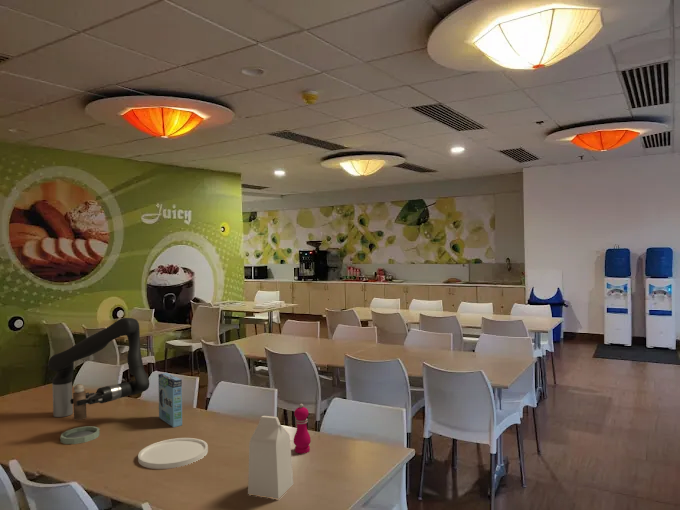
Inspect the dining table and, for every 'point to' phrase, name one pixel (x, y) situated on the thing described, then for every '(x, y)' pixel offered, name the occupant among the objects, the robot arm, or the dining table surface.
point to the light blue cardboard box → (170, 399)
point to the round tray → (79, 435)
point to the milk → (270, 459)
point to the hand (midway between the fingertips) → (74, 402)
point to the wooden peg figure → (78, 395)
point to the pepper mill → (302, 431)
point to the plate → (172, 453)
